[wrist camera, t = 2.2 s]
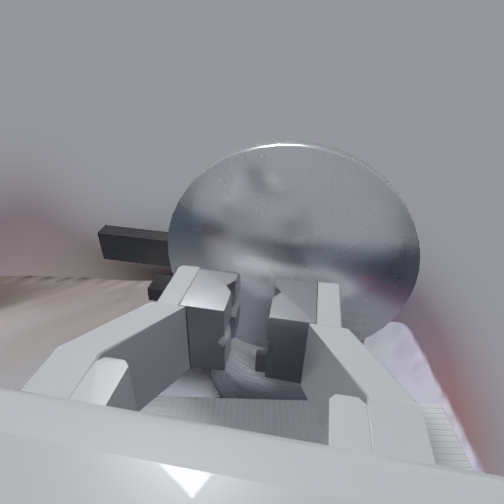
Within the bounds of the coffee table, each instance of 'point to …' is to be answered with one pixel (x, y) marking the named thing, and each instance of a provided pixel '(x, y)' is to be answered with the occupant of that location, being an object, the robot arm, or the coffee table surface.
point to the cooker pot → (242, 366)
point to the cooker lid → (289, 232)
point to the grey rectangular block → (297, 421)
